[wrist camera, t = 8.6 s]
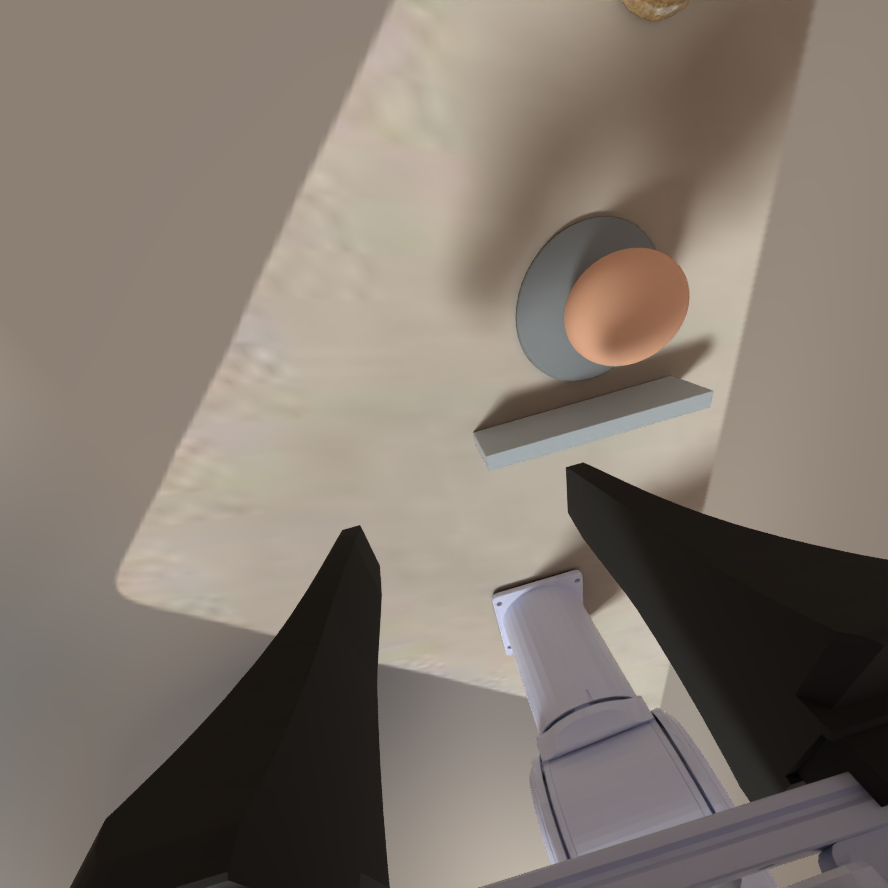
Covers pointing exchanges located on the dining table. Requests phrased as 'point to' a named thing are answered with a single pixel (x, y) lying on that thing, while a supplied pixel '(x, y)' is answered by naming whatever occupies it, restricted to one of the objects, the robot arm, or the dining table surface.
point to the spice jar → (655, 8)
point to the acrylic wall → (589, 421)
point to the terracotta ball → (626, 306)
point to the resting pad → (566, 292)
